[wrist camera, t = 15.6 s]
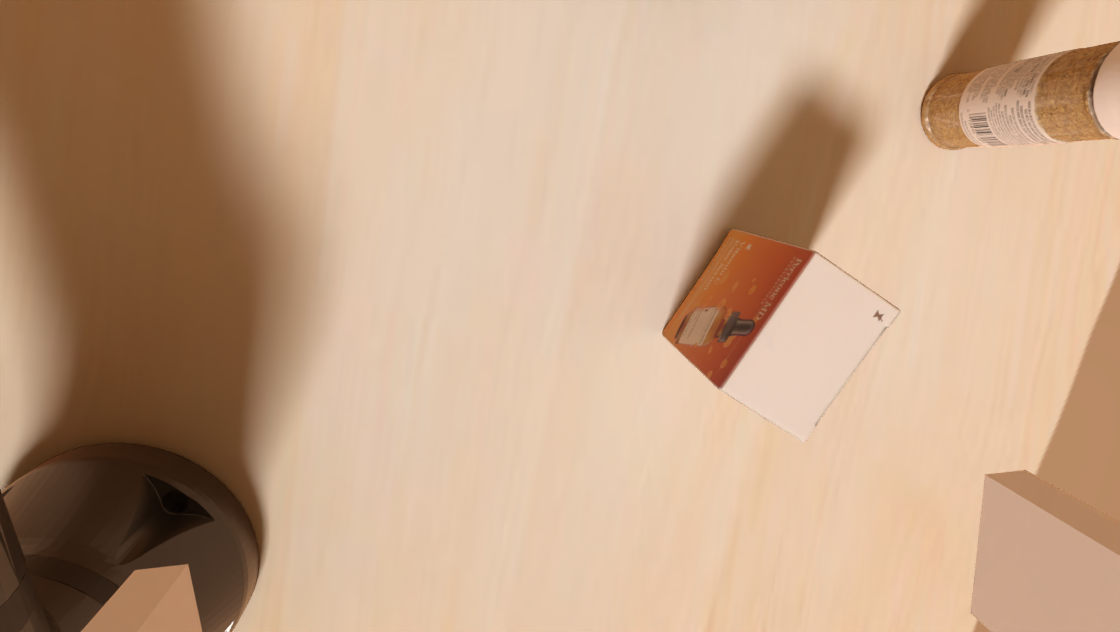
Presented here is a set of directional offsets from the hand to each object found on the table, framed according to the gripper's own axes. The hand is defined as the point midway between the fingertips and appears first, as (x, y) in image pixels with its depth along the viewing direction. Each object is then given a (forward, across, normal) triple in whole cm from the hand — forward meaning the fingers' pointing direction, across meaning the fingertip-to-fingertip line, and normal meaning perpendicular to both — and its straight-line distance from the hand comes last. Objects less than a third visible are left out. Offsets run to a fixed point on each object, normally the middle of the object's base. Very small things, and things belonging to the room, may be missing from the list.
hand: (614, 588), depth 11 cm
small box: (+29, +13, -2) cm, 32 cm away
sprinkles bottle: (+29, +27, +9) cm, 41 cm away
